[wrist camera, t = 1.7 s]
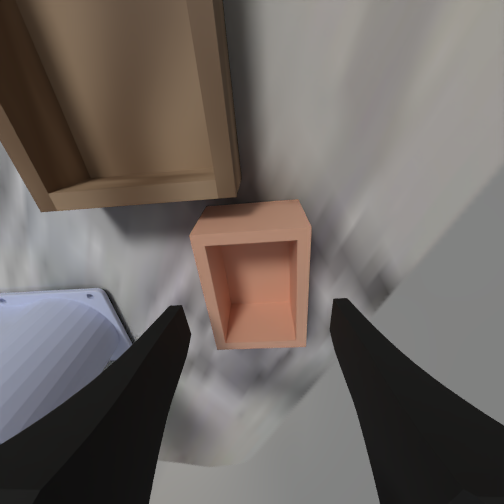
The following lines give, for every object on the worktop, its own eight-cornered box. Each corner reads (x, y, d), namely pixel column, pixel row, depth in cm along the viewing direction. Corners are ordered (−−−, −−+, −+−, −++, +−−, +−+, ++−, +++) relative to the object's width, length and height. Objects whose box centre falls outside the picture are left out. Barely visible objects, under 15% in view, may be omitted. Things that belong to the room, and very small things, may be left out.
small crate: (225, 305, 18) (217, 349, 15) (206, 206, 14) (189, 235, 11) (296, 301, 18) (305, 346, 14) (298, 199, 14) (311, 226, 10)
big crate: (89, 191, 14) (41, 212, 11) (-71, -172, 8) (-287, -361, 5) (241, 178, 13) (236, 197, 10) (198, -226, 7) (153, -482, 4)
